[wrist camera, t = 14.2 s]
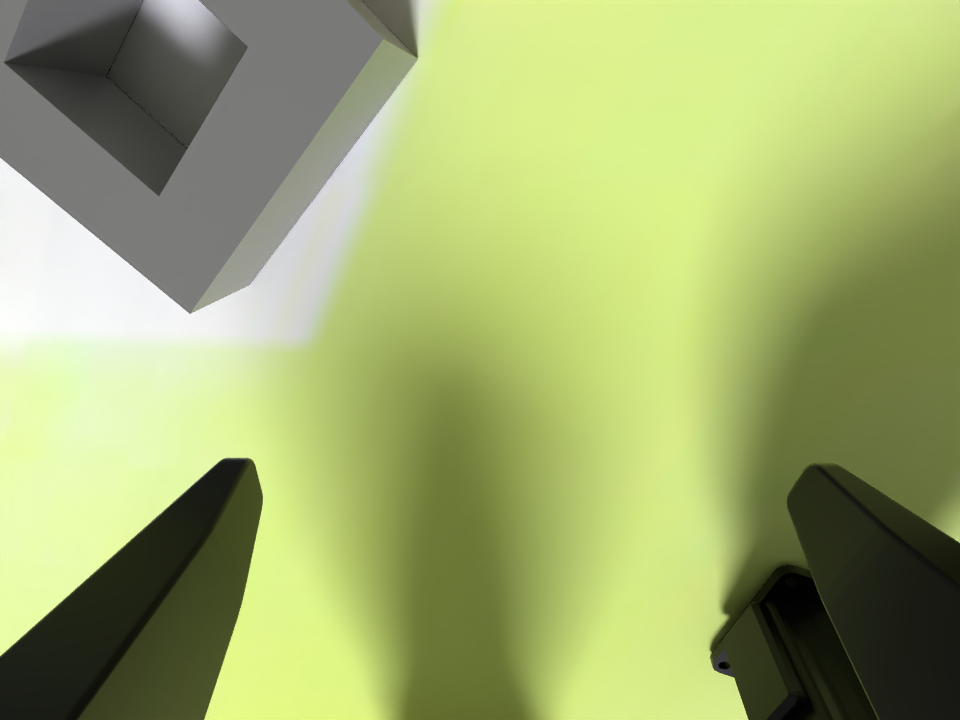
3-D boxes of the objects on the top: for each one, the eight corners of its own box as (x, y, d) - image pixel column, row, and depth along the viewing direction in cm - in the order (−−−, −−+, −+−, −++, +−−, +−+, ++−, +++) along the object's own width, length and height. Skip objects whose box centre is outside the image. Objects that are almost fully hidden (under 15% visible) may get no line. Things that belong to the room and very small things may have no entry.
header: (417, 58, 16) (383, 38, 12) (249, 284, 19) (190, 313, 16) (140, -229, 14) (17, -339, 11) (13, 81, 18) (-108, 69, 14)
